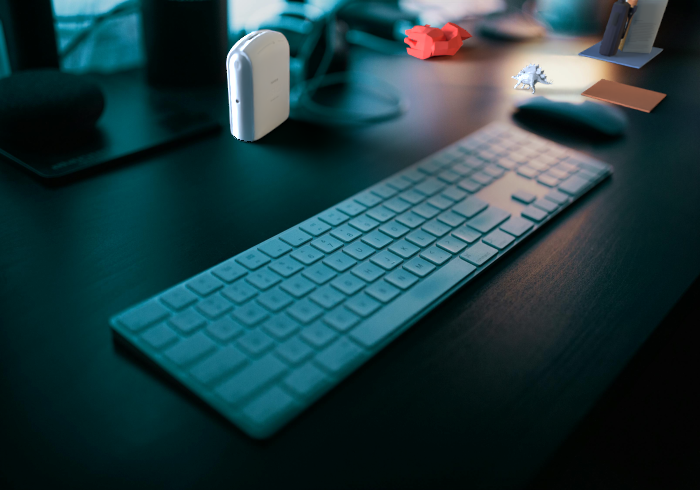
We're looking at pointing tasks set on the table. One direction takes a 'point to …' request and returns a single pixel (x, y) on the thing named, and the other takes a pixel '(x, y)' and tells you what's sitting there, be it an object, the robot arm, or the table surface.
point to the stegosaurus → (531, 77)
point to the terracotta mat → (624, 95)
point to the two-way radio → (616, 27)
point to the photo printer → (258, 84)
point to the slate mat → (622, 56)
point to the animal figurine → (435, 40)
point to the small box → (643, 26)
